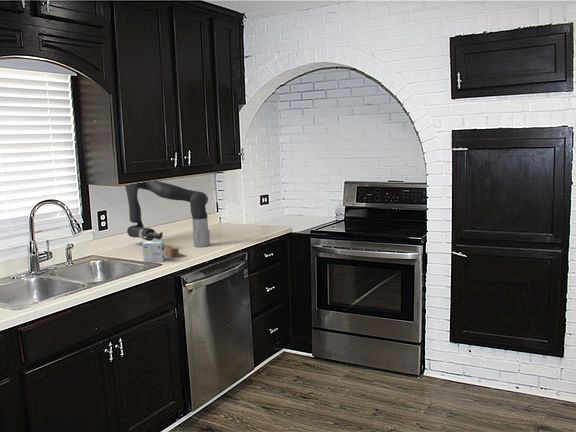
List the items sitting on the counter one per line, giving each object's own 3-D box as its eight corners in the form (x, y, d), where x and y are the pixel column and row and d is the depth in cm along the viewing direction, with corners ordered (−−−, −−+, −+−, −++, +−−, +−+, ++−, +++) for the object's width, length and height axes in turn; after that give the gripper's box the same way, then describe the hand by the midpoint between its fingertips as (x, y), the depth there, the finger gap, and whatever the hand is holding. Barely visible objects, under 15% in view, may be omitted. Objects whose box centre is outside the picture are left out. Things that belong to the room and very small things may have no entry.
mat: (175, 252, 332) (175, 252, 332) (186, 256, 321) (186, 255, 321) (156, 255, 325) (156, 255, 325) (167, 259, 314) (167, 259, 314)
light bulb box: (165, 259, 316) (163, 240, 314) (162, 261, 309) (161, 242, 308) (145, 259, 316) (144, 240, 314) (143, 262, 309) (141, 243, 307)
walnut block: (168, 245, 330) (178, 248, 320) (168, 252, 330) (179, 256, 320) (161, 246, 327) (171, 249, 317) (161, 254, 328) (171, 257, 317)
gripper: (136, 229, 341) (148, 232, 327) (156, 226, 349) (169, 229, 336) (137, 241, 342) (149, 245, 329) (157, 238, 350) (170, 242, 337)
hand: (159, 237), depth 332 cm, fingers closed
